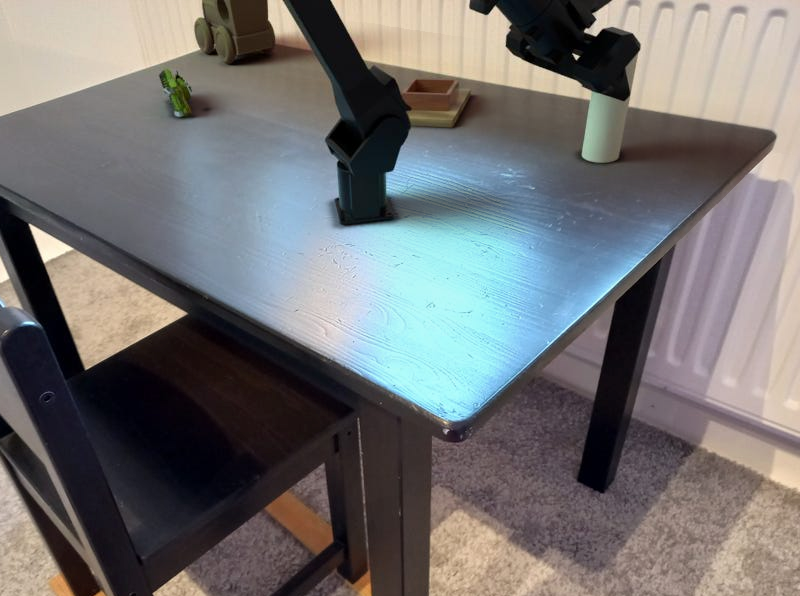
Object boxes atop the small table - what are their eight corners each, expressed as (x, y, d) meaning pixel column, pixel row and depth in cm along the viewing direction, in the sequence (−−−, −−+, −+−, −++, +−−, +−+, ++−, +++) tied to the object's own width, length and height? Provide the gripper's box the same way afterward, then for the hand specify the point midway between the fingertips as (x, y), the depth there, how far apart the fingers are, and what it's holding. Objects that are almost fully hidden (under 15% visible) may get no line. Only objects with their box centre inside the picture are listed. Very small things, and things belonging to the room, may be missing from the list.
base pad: (452, 127, 105) (453, 102, 102) (387, 124, 108) (387, 100, 106) (470, 96, 115) (471, 72, 113) (410, 94, 118) (410, 71, 116)
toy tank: (150, 90, 113) (208, 67, 114) (142, 61, 128) (194, 40, 128) (168, 131, 118) (224, 108, 118) (159, 98, 132) (208, 78, 133)
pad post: (624, 160, 91) (647, 46, 82) (589, 164, 91) (608, 50, 82) (610, 147, 95) (630, 36, 86) (576, 151, 95) (592, 40, 86)
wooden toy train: (284, 58, 141) (274, -36, 131) (233, 70, 137) (218, -25, 127) (241, 39, 155) (229, -47, 145) (193, 50, 151) (177, -37, 141)
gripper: (643, -53, 68) (708, 47, 77) (536, -72, 83) (602, 14, 92) (561, 47, 72) (634, 132, 81) (472, 12, 86) (542, 87, 95)
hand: (602, 87), depth 87 cm, fingers open, 9 cm apart
